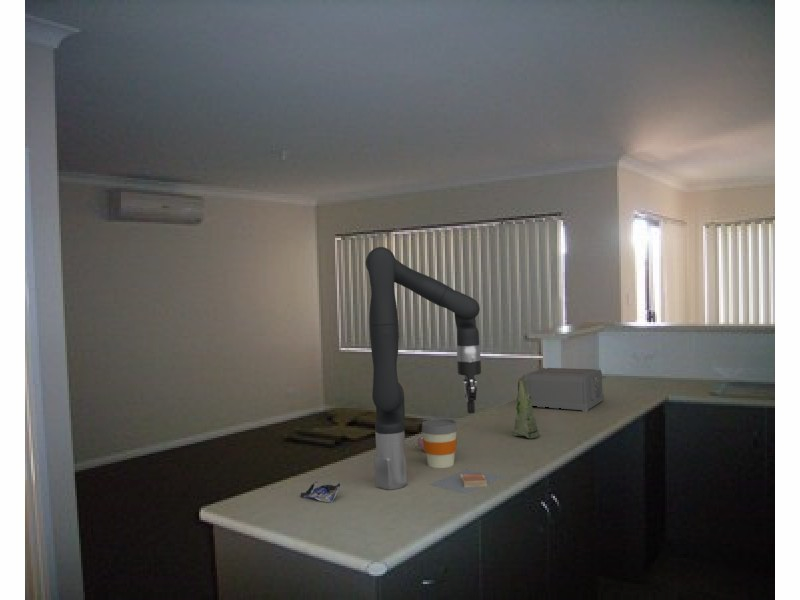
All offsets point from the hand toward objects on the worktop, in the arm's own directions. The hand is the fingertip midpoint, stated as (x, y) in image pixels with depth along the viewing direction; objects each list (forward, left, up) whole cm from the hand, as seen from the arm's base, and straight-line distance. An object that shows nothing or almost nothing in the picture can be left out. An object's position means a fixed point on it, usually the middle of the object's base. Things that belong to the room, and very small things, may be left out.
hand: (471, 412), depth 194 cm
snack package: (-41, +27, -22) cm, 54 cm away
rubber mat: (-4, 0, -21) cm, 22 cm away
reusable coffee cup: (+6, +18, -22) cm, 29 cm away
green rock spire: (+58, +15, -22) cm, 64 cm away
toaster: (+129, +32, -22) cm, 135 cm away
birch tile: (-2, 0, -20) cm, 20 cm away
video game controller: (+20, +35, -22) cm, 46 cm away
